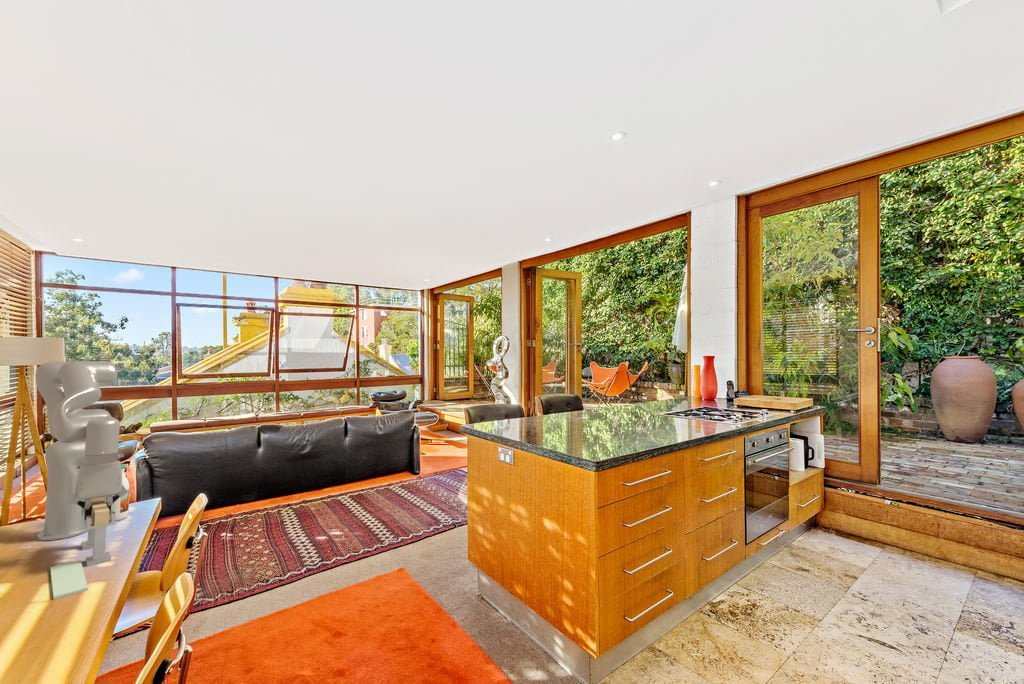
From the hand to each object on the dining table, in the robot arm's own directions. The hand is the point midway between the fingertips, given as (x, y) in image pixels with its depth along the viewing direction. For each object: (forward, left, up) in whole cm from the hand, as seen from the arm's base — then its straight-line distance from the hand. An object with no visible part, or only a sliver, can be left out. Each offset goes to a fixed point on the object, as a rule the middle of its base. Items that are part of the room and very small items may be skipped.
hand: (97, 519), depth 131 cm
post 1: (-8, 0, -10) cm, 13 cm away
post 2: (+8, 0, -10) cm, 13 cm away
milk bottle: (-34, +8, -10) cm, 36 cm away
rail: (0, 0, +1) cm, 1 cm away
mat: (+17, -6, -10) cm, 21 cm away
